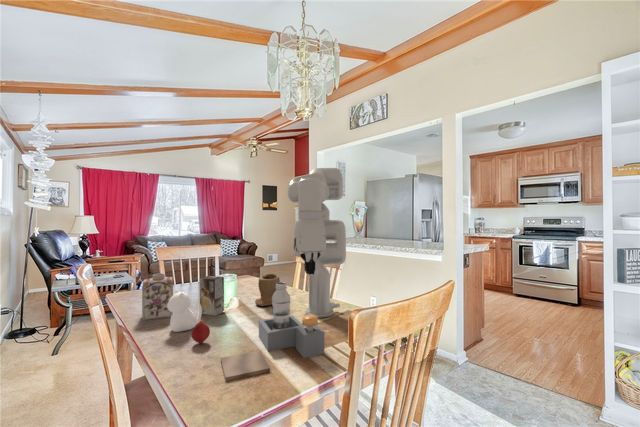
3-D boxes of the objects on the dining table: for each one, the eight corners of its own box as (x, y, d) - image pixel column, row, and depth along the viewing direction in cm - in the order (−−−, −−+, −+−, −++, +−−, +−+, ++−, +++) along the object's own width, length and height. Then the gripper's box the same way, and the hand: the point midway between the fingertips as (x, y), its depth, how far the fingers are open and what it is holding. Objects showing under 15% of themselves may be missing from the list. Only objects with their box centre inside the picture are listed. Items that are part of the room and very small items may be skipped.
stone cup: (261, 309, 139) (261, 277, 139) (252, 303, 149) (252, 273, 149) (290, 304, 147) (290, 274, 147) (280, 299, 157) (280, 270, 157)
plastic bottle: (287, 345, 101) (287, 285, 101) (268, 343, 102) (268, 285, 102) (293, 337, 107) (293, 281, 107) (275, 336, 108) (275, 281, 109)
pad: (260, 353, 94) (260, 350, 94) (269, 371, 83) (269, 368, 83) (220, 361, 90) (220, 357, 90) (225, 381, 79) (225, 377, 79)
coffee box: (224, 311, 136) (224, 276, 136) (215, 316, 130) (215, 279, 130) (209, 309, 139) (209, 275, 140) (198, 313, 133) (198, 277, 134)
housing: (300, 329, 114) (300, 311, 114) (324, 353, 94) (324, 331, 94) (258, 336, 108) (258, 317, 108) (275, 364, 88) (275, 340, 88)
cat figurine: (164, 329, 115) (164, 290, 115) (197, 321, 123) (197, 285, 123) (171, 336, 108) (170, 295, 108) (205, 327, 116) (205, 289, 116)
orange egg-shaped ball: (314, 331, 99) (314, 313, 99) (320, 337, 95) (320, 318, 95) (300, 334, 97) (300, 315, 97) (305, 340, 93) (305, 320, 93)
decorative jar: (173, 309, 140) (173, 271, 140) (172, 316, 129) (173, 275, 130) (144, 312, 135) (144, 273, 135) (141, 321, 124) (141, 277, 124)
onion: (198, 348, 98) (198, 324, 98) (187, 344, 101) (187, 321, 101) (213, 342, 103) (213, 319, 103) (202, 338, 106) (202, 316, 106)
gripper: (325, 216, 103) (326, 270, 103) (284, 217, 97) (284, 273, 97) (335, 216, 96) (335, 273, 96) (291, 217, 90) (291, 277, 90)
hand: (309, 273), depth 96 cm, fingers closed
